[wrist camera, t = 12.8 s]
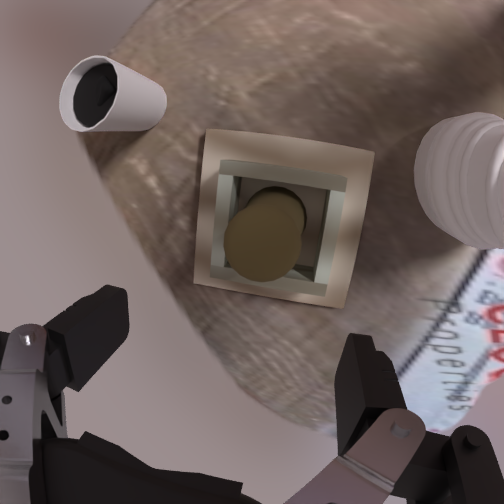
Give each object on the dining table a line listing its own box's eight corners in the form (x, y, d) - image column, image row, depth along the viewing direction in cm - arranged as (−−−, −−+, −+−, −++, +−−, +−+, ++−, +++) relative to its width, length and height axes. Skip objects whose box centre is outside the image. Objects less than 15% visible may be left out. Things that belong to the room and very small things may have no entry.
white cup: (149, 65, 28) (97, 40, 19) (182, 106, 29) (134, 89, 20) (108, 106, 30) (49, 97, 21) (138, 147, 31) (80, 148, 22)
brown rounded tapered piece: (256, 255, 31) (231, 305, 21) (234, 198, 30) (196, 220, 19) (315, 237, 30) (320, 280, 19) (294, 177, 28) (289, 187, 18)
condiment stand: (209, 129, 29) (192, 124, 24) (372, 152, 27) (385, 151, 23) (196, 279, 34) (179, 298, 29) (342, 303, 32) (347, 328, 28)
